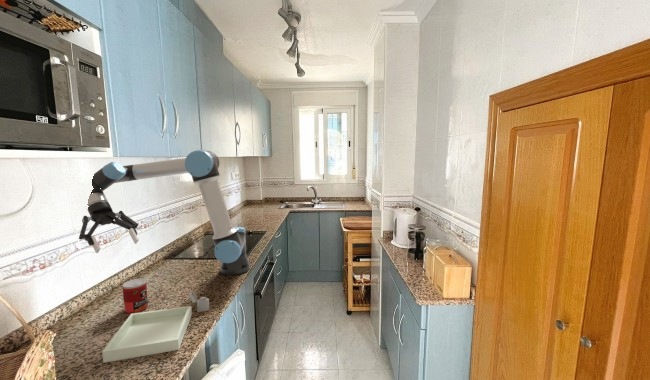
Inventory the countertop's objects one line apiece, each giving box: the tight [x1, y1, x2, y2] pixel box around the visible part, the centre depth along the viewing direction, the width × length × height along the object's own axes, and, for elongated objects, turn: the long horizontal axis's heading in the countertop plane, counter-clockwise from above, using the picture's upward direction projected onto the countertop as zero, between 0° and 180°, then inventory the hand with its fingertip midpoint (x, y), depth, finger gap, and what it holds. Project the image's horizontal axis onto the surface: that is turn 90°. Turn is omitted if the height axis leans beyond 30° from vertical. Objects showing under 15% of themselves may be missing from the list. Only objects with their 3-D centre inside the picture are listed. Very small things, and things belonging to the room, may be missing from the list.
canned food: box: [121, 278, 149, 315], centre depth 106 cm, size 8×8×11 cm
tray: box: [101, 305, 193, 363], centre depth 91 cm, size 20×20×4 cm
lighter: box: [187, 291, 210, 313], centre depth 105 cm, size 7×2×8 cm, turn 106°
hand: (118, 246), depth 109 cm, fingers open, 13 cm apart
